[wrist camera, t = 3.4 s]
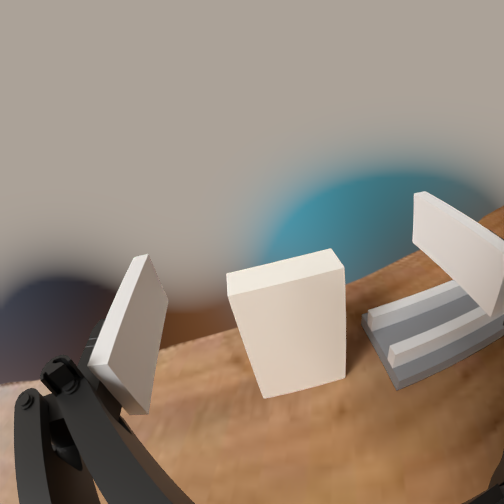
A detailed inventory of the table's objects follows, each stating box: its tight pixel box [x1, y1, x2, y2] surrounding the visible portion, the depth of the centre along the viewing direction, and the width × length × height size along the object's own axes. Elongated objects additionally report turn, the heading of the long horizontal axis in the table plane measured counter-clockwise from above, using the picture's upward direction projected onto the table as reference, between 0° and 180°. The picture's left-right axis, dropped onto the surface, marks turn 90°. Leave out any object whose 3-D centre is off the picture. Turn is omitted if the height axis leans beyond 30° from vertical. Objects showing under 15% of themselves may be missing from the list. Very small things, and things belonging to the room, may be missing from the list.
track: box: [361, 280, 504, 390], centre depth 32 cm, size 24×12×4 cm, turn 97°
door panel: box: [226, 248, 346, 398], centre depth 30 cm, size 10×4×16 cm, turn 97°
